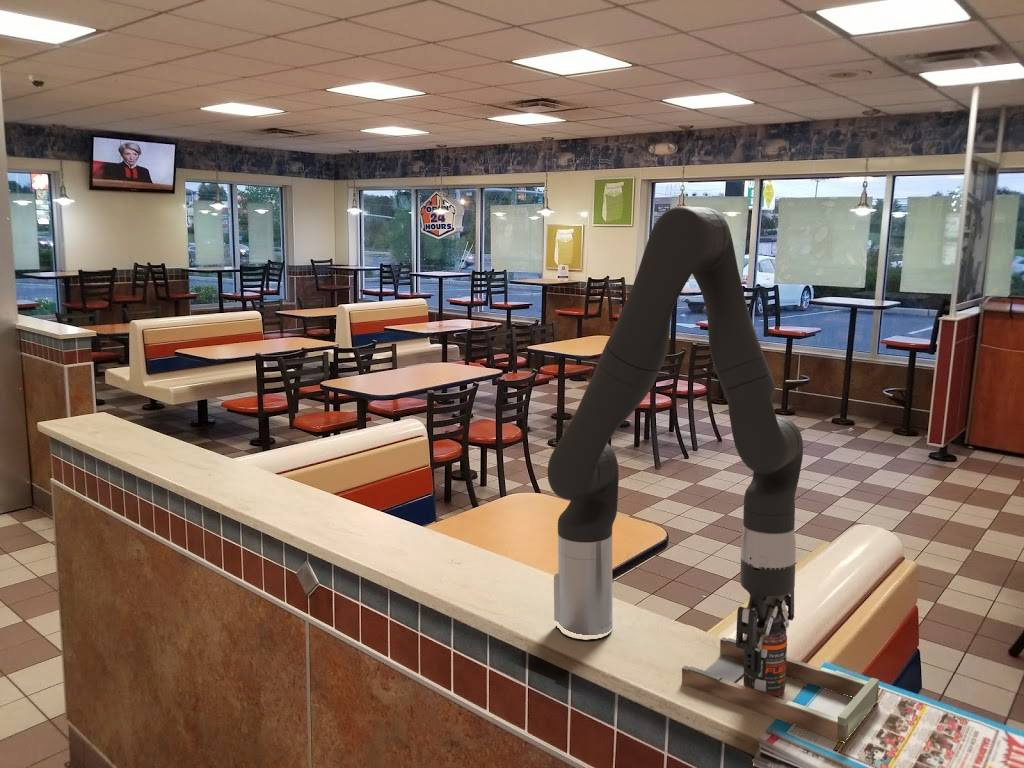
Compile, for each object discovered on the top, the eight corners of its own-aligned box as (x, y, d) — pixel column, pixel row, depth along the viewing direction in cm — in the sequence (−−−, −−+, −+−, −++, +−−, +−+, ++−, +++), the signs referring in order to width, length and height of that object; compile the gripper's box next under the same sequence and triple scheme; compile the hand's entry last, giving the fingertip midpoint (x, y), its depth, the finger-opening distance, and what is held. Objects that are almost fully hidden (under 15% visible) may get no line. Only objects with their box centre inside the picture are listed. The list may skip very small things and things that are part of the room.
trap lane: (681, 683, 122) (682, 661, 121) (723, 651, 131) (723, 631, 131) (844, 743, 106) (845, 718, 105) (877, 702, 115) (878, 679, 115)
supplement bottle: (768, 703, 116) (770, 628, 114) (734, 686, 121) (736, 614, 119) (793, 690, 119) (796, 617, 118) (760, 674, 124) (761, 604, 122)
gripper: (764, 537, 125) (762, 637, 127) (720, 564, 114) (718, 672, 116) (813, 548, 120) (809, 651, 122) (771, 577, 109) (768, 689, 111)
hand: (765, 661), depth 119 cm, fingers open, 8 cm apart
